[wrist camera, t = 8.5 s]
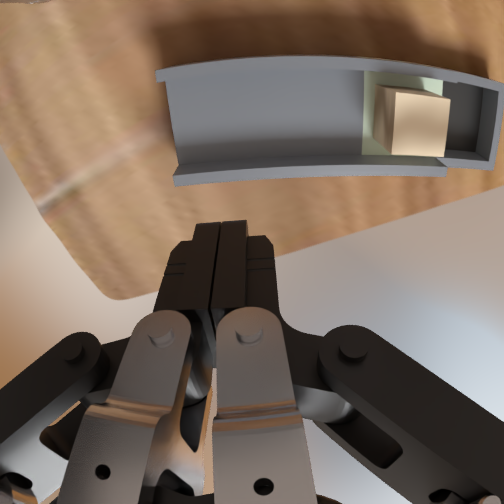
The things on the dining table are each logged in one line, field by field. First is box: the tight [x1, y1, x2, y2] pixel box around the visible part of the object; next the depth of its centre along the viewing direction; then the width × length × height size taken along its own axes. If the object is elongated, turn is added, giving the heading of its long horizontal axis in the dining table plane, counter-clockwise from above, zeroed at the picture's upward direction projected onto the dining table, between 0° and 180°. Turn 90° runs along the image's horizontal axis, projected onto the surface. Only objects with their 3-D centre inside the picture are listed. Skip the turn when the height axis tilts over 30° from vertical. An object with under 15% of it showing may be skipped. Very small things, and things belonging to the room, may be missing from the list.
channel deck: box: [155, 55, 504, 187], centre depth 25 cm, size 10×33×6 cm, turn 94°
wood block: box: [373, 84, 450, 157], centre depth 23 cm, size 5×5×4 cm
